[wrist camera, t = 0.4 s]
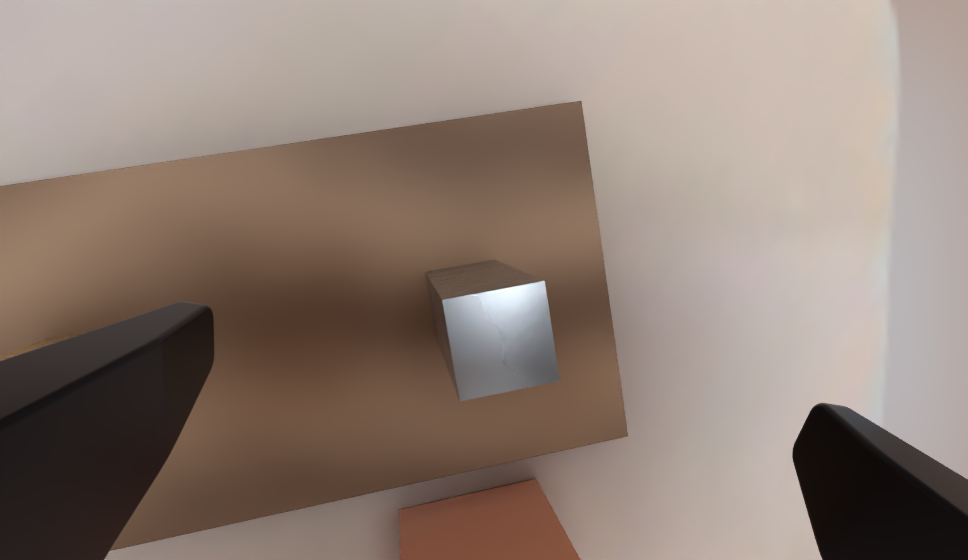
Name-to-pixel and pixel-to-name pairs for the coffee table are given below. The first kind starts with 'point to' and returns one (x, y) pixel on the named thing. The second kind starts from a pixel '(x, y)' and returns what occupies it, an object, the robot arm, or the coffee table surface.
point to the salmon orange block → (486, 527)
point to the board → (328, 303)
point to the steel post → (492, 328)
